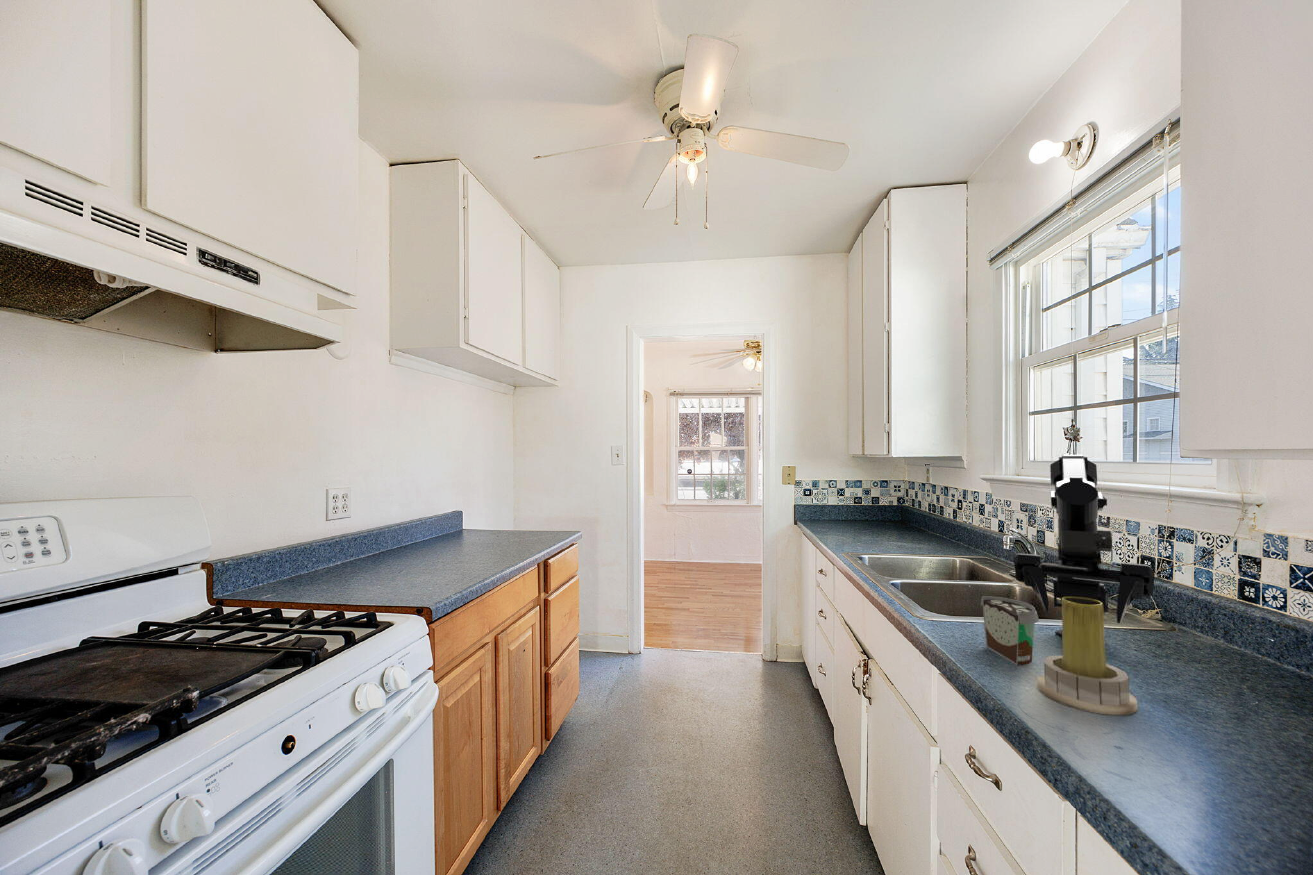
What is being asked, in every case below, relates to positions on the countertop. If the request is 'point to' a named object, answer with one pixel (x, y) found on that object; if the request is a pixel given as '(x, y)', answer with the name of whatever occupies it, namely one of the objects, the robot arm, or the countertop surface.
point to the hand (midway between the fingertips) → (1081, 616)
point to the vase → (1083, 637)
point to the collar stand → (1087, 689)
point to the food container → (1009, 628)
